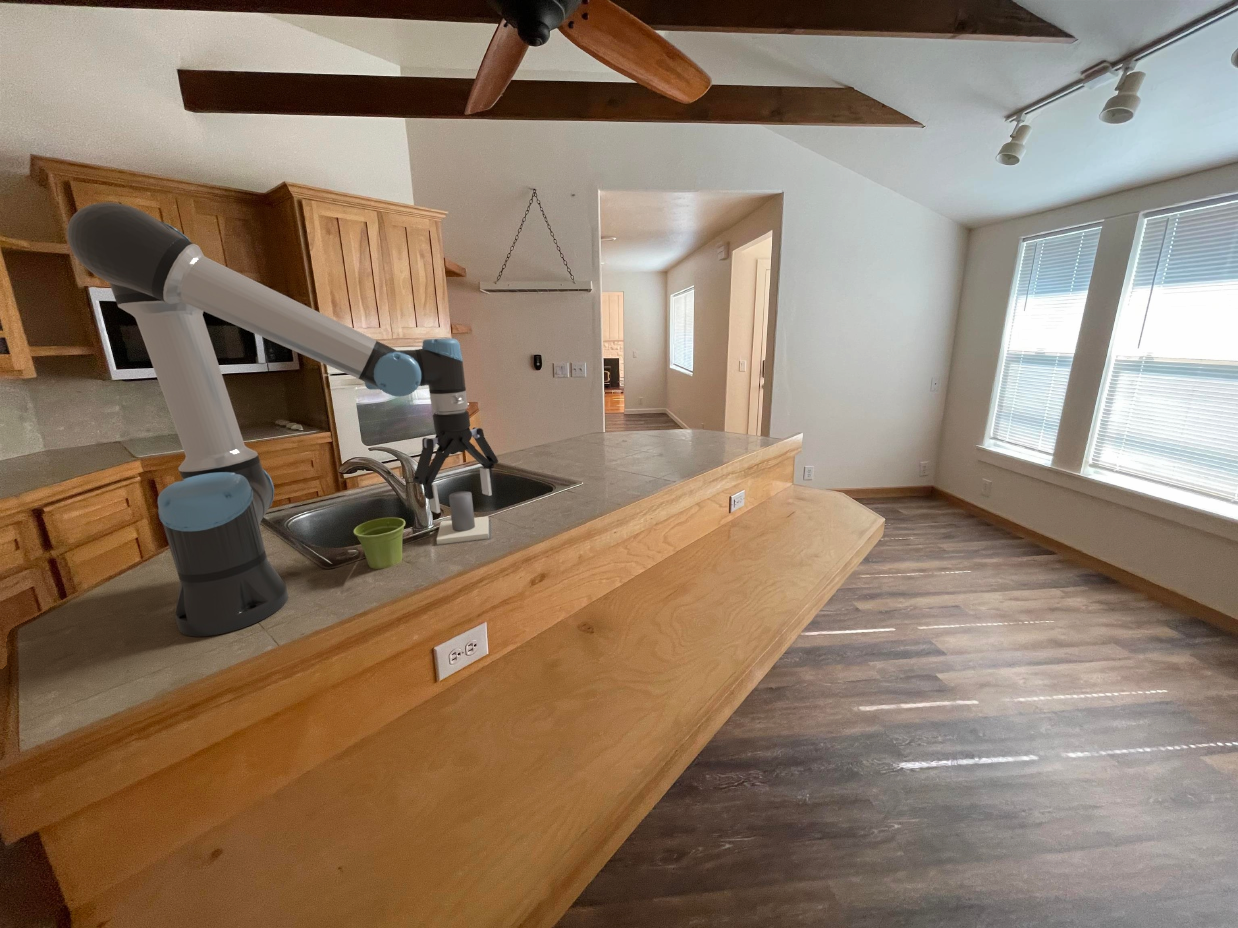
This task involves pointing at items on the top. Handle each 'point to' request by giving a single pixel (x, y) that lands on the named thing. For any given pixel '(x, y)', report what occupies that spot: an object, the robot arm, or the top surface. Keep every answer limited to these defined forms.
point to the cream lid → (462, 521)
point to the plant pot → (381, 541)
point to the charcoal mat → (468, 541)
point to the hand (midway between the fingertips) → (462, 502)
